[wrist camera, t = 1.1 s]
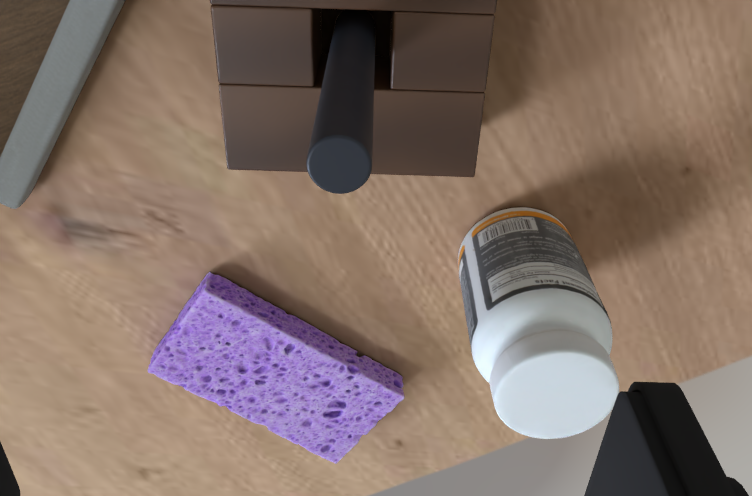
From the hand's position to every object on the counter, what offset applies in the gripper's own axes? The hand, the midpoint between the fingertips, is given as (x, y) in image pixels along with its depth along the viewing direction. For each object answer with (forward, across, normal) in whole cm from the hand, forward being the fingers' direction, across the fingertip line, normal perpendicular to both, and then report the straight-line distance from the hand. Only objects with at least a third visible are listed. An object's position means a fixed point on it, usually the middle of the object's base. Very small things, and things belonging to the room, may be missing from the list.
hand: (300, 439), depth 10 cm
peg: (+21, 0, -1) cm, 21 cm away
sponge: (+21, +4, +18) cm, 28 cm away
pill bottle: (+21, -8, +10) cm, 25 cm away
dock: (+21, 0, -1) cm, 21 cm away
